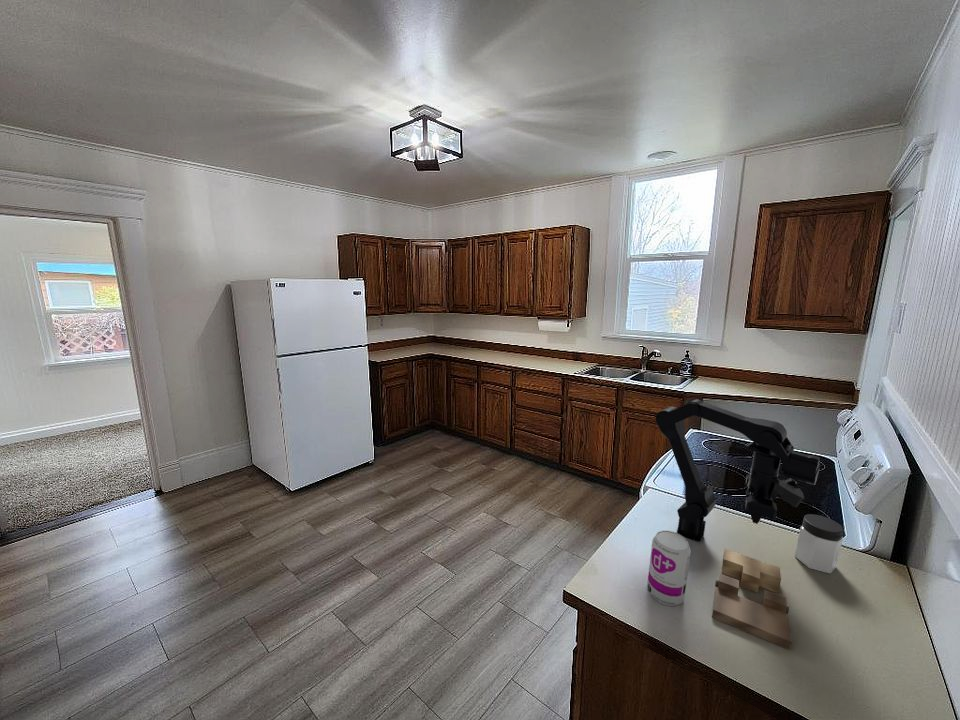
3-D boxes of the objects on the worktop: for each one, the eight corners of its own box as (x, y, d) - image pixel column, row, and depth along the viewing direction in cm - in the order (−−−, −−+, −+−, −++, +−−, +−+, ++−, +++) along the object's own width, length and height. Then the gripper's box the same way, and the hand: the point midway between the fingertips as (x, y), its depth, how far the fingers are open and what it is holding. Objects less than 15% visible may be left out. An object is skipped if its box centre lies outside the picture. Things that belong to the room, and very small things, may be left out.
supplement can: (668, 613, 89) (676, 556, 86) (639, 588, 96) (645, 534, 93) (691, 600, 93) (699, 545, 90) (661, 577, 100) (668, 525, 97)
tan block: (720, 579, 100) (723, 565, 99) (722, 561, 106) (724, 548, 105) (779, 601, 93) (782, 586, 92) (777, 580, 100) (779, 567, 99)
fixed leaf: (711, 616, 88) (713, 601, 88) (714, 586, 97) (717, 572, 97) (790, 650, 81) (793, 633, 80) (786, 613, 90) (789, 598, 89)
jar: (828, 578, 101) (837, 537, 98) (790, 559, 107) (798, 520, 105) (840, 564, 105) (849, 525, 103) (803, 547, 112) (810, 510, 110)
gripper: (809, 495, 89) (796, 554, 93) (800, 464, 105) (790, 516, 108) (750, 480, 96) (740, 536, 99) (750, 453, 111) (742, 503, 114)
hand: (755, 522), depth 105 cm, fingers closed
